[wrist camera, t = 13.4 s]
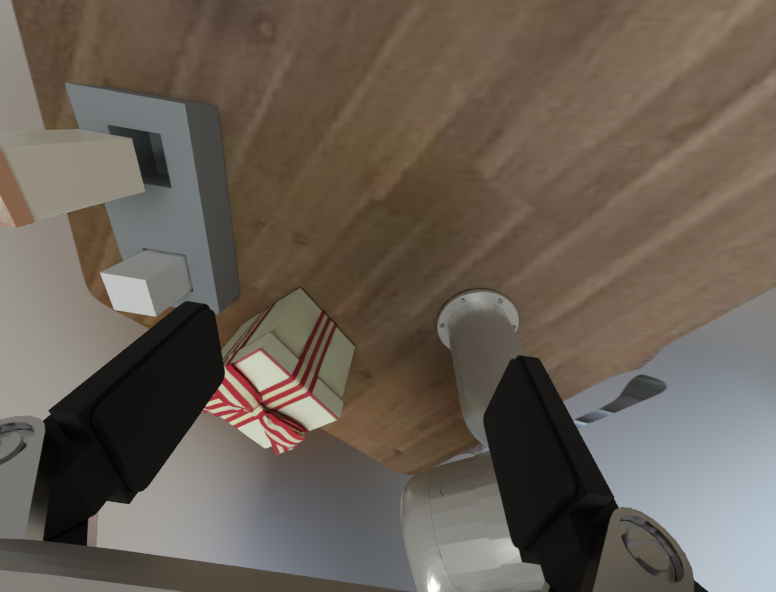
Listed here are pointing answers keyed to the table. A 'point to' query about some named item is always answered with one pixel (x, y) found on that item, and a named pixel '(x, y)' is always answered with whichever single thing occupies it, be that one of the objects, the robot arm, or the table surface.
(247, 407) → the gift box
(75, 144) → the cream plug
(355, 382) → the table surface
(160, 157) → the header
